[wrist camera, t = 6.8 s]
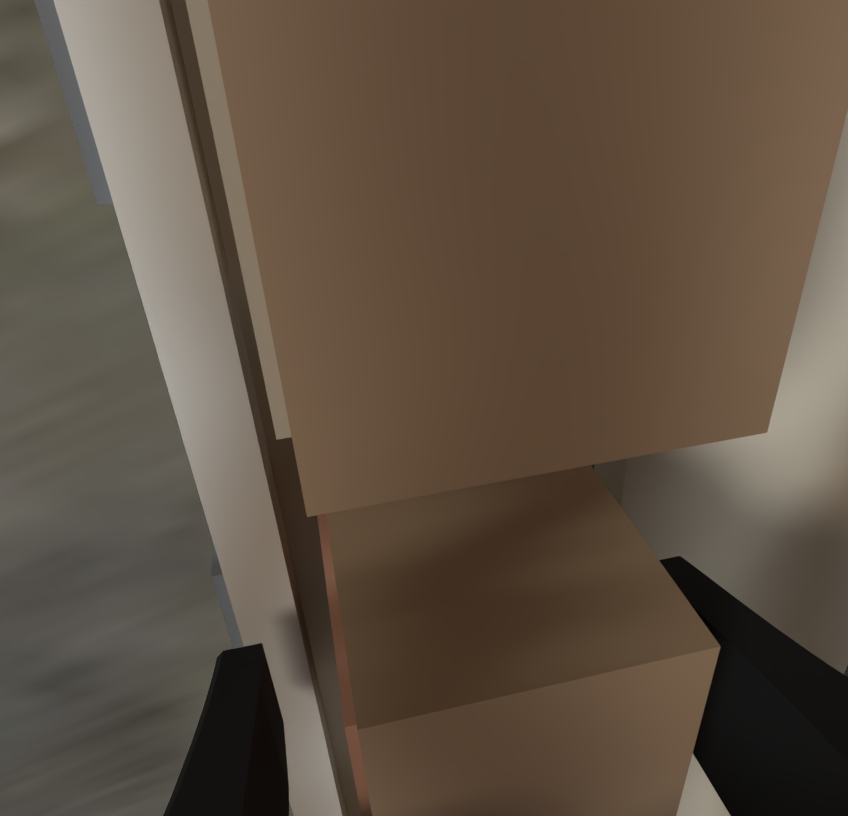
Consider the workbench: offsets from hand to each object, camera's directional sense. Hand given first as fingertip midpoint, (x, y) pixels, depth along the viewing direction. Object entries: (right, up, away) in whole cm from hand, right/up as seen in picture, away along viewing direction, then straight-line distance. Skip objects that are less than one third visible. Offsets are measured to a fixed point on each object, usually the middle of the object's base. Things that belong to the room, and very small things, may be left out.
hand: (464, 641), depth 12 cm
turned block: (0, +1, +2) cm, 2 cm away
